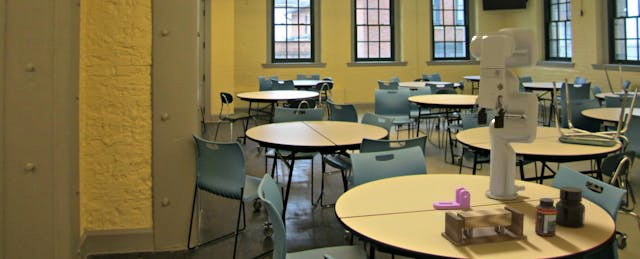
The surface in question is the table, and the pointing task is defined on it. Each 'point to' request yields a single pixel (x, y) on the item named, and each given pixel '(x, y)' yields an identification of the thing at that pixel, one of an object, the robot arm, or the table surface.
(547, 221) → the supplement bottle
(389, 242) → the table surface
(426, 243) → the table surface
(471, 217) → the plank
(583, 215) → the ink bottle
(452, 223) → the holder
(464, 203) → the bracket
